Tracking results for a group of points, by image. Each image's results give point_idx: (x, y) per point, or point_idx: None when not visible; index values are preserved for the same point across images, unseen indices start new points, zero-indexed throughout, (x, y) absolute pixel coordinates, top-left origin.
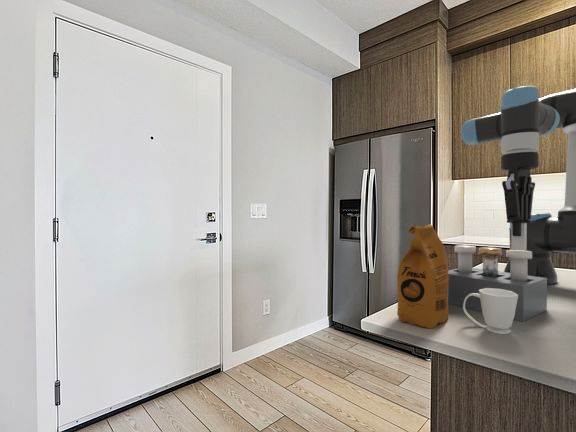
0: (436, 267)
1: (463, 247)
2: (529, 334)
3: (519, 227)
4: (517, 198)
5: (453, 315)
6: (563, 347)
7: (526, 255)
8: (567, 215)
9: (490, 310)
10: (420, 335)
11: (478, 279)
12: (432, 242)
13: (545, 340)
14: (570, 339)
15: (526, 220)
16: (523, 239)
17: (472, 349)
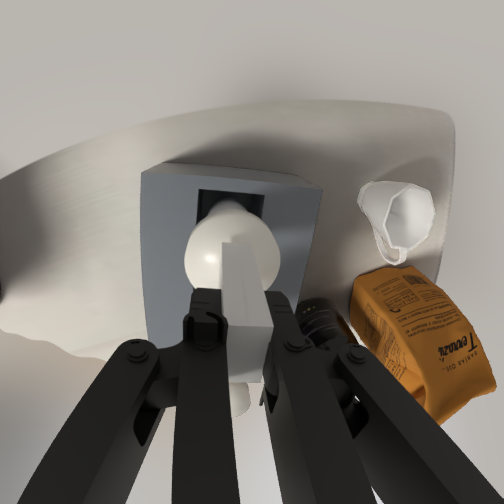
0: (440, 327)
1: (249, 399)
2: (362, 155)
3: (290, 323)
4: (453, 469)
5: (341, 274)
6: (384, 111)
7: (263, 224)
8: None
9: (410, 214)
10: (436, 263)
11: (298, 294)
12: (443, 379)
13: (373, 132)
14: (342, 101)
15: (224, 340)
16: (257, 270)
17: (446, 204)
